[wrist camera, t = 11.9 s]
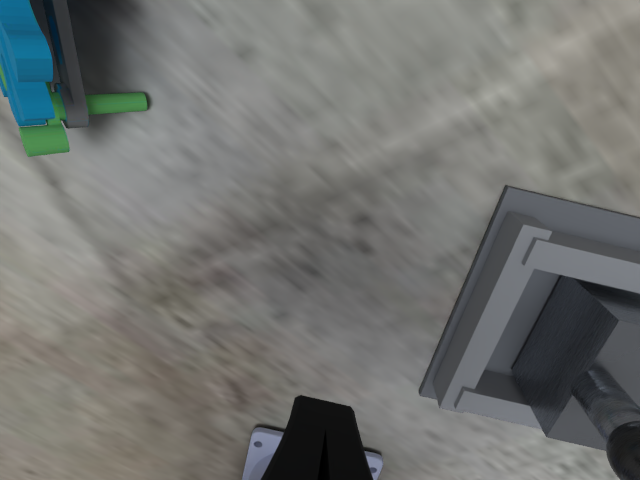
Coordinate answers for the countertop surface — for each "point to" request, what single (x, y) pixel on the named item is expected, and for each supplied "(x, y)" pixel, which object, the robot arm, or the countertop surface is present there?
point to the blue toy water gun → (48, 78)
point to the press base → (523, 295)
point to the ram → (587, 371)
